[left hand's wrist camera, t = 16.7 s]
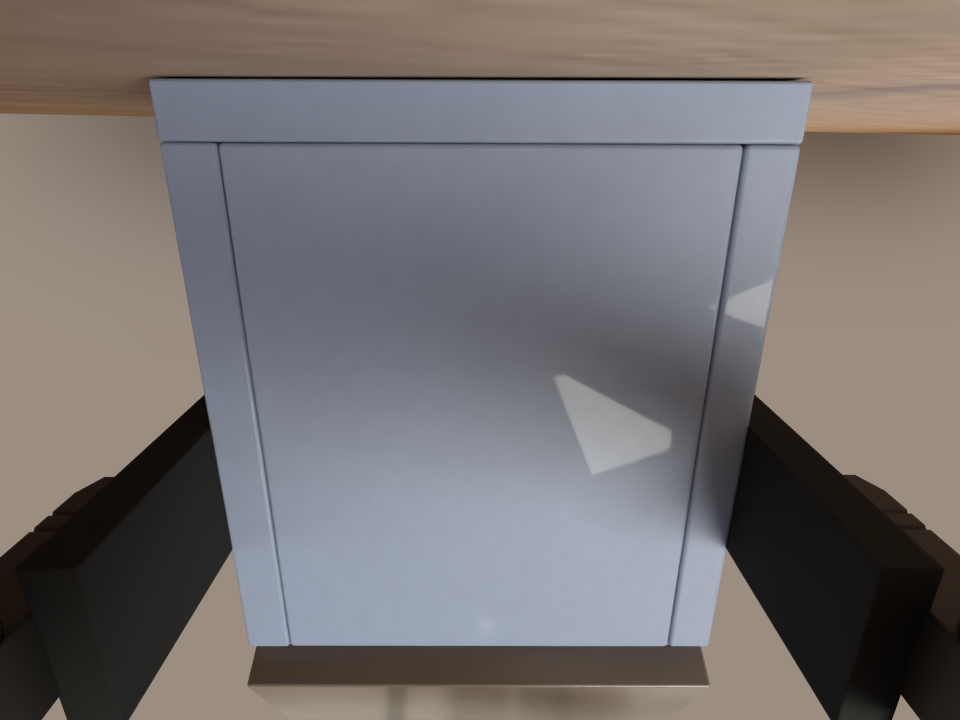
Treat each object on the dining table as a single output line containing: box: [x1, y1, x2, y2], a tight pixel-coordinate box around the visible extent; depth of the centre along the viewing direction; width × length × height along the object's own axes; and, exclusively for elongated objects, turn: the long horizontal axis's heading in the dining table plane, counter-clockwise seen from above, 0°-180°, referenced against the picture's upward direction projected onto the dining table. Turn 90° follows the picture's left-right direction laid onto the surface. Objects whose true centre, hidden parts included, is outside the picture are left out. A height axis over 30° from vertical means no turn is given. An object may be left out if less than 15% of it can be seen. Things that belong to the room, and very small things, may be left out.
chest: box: [149, 78, 813, 646], centre depth 17 cm, size 15×10×11 cm
